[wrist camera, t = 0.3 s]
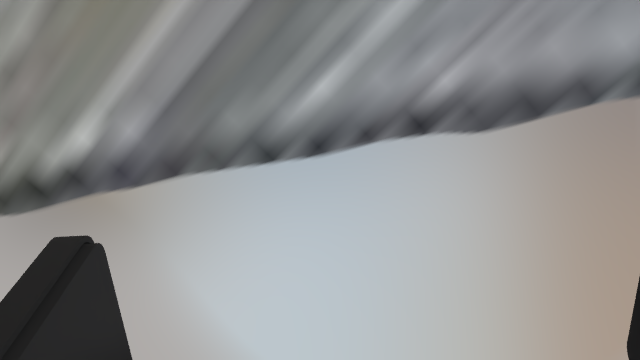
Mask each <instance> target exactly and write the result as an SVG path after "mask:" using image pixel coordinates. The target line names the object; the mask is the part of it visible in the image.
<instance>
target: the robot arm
mask: <svg viewBox="0 0 640 360" xmlns="http://www.w3.org/2000/svg"><path fill="white" fill-rule="evenodd" d="M627 352H628V357H629V360H640V278H639V283H638V289H637V293H636V299H635V304H634V309H633V314H632V320H631V325H630V330H629V336H628V341H627ZM0 360H132V357H131V353H130V349H129V345H128V341H127V337H126V333H125V329H124V325H123V321H122V317H121V313H120V309H119V305H118V301H117V297H116V293H115V290H114V285H113V281H112V277H111V273H110V269H109V266H108V261H107V257H106V253H105V250H104V248H103V246H102V245H101V244H100V243H94V241H93V240H92V238H91V237H89V236H69V237H55V238H53V239H52V240H51V241H50V242H49V243H48V244H47V246H46V247H45V248H44V249H43V251H42V252H41V253H40V254H39V255H38V257H37V258H36V259H35V260H34V262H33V263H32V264H31V265H30V267H29V268H28V269H27V270H26V271H25V273H24V274H23V275H22V276H21V278H20V279H19V280H18V282H17V283H16V284H15V285H14V286H13V287H12V289H11V290H10V291H9V292H8V294H7V295H6V296H5V297H4V299H3V300H2V301H1V302H0Z"/></svg>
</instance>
